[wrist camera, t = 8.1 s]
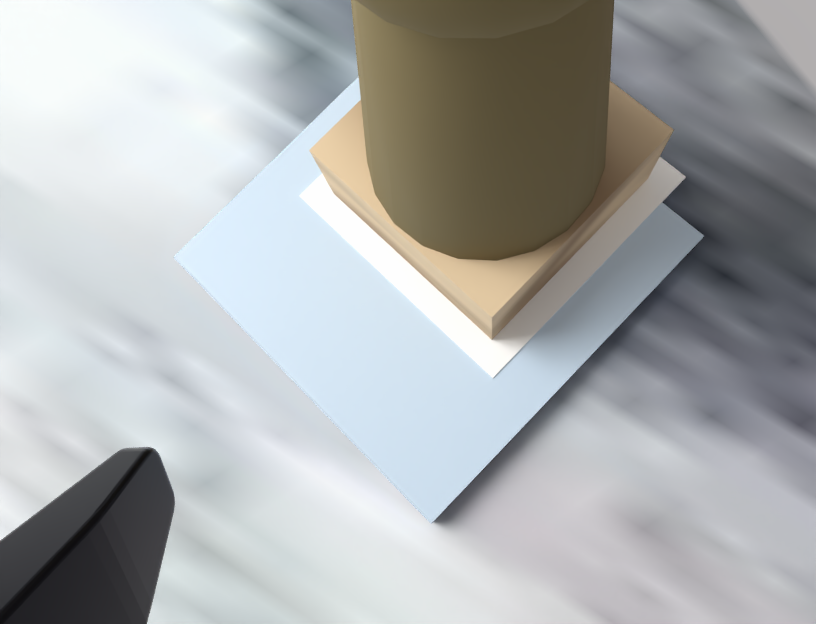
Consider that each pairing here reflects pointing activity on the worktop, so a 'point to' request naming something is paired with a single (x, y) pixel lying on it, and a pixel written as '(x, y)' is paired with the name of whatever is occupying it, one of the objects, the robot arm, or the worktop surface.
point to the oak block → (515, 276)
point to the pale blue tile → (416, 317)
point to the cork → (484, 117)
